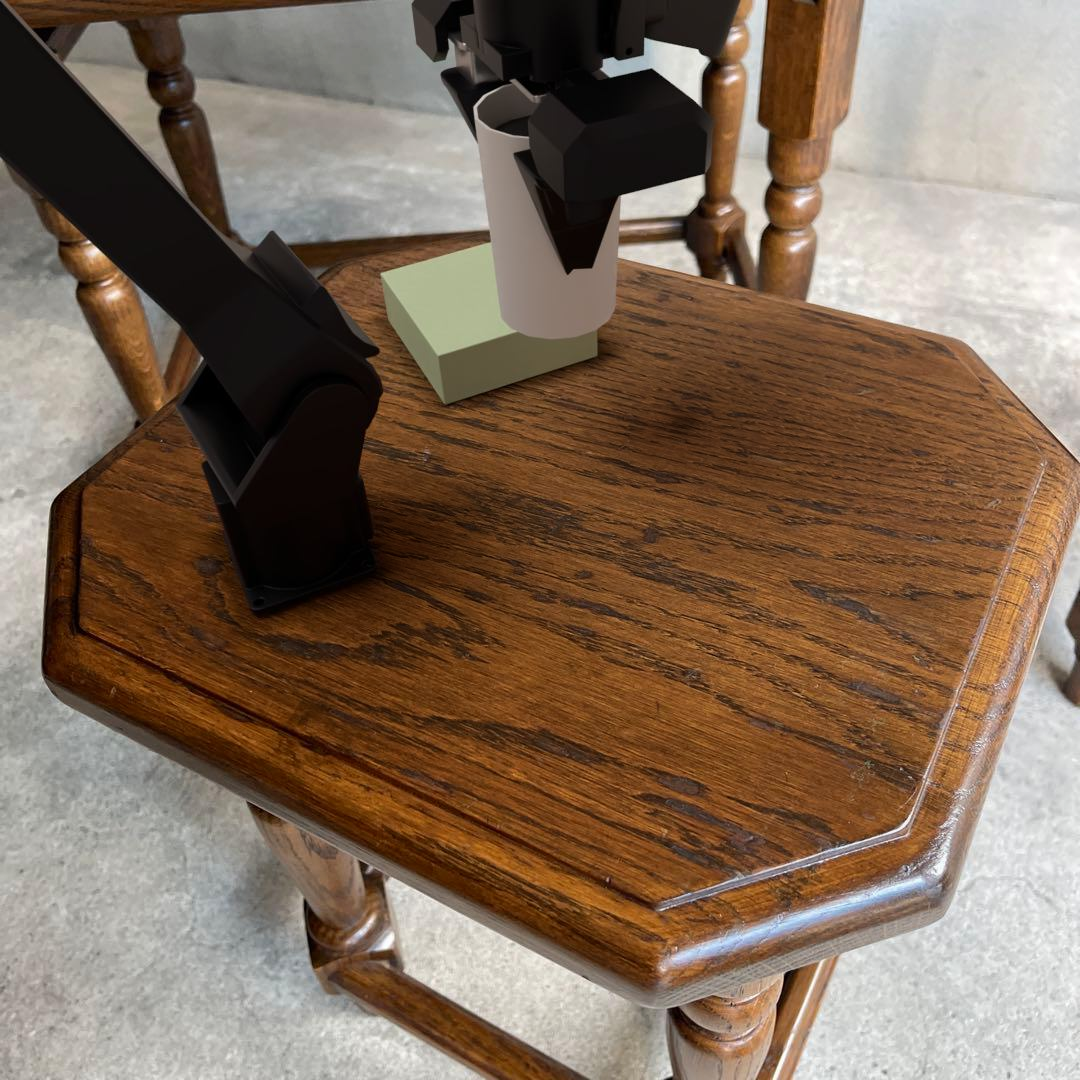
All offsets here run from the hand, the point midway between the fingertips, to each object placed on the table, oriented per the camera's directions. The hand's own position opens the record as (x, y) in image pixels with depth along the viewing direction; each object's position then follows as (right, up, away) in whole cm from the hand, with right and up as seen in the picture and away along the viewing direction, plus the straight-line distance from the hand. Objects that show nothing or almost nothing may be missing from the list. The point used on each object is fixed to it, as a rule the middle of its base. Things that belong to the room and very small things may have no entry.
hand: (554, 250), depth 53 cm
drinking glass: (0, -2, +2) cm, 3 cm away
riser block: (-4, -1, +16) cm, 16 cm away
